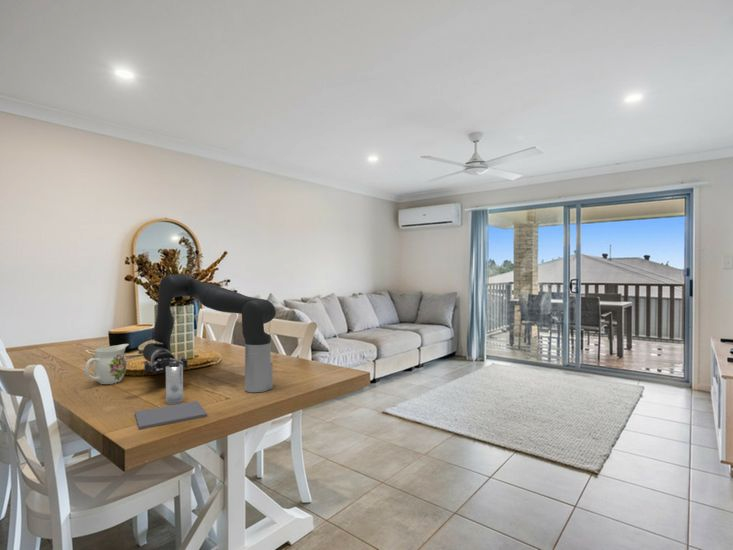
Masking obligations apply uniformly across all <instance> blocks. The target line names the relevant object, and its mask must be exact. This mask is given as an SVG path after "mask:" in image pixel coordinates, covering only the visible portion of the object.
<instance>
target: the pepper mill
mask: <svg viewBox="0 0 733 550" xmlns="http://www.w3.org/2000/svg"><path fill="white" fill-rule="evenodd" d="M178 360H179V359H178ZM178 360H175V361H170V362H169V366H166V371H165V403H167V404H166V405H176V404H182V402H183V401H184V369H183V365H181V364H179V361H178Z"/></svg>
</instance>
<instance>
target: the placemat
mask: <svg viewBox="0 0 733 550" xmlns="http://www.w3.org/2000/svg"><path fill="white" fill-rule="evenodd" d="M134 415H135V420H136V422H137V426H138V430H143V429H149V428H148V427H150V428H154V427H159V426H164V425H169V424H174V423H180V422H184V421H190V420H195V419H199V418H205V417H208V412H207V411H205V409H204V408H203V406H202V405H201V404H200V403H199V400H194V401H189V402H183V403H182V402H181V403H177V404H170V405H165V406H161V407H154V408H149V409H142V410H136V411H135V412H134Z"/></svg>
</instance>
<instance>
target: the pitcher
mask: <svg viewBox="0 0 733 550" xmlns="http://www.w3.org/2000/svg"><path fill="white" fill-rule="evenodd" d="M129 345H130V344H129V343H122V344H117V345H110V346H104V347H99V348H97V349H96V348H95V349H94V350H93V352H94V356H95V357H93V358H92V357H91V358H89V359H88V360H87V361H86V363H85V365H84V374H85V376H86V378H87V379H89V380H91V381H97V382H98V383H99V384H100V385H102V384H110V385H114V384H113V383H115V384H118V383H120V382H121V381H122V379H123V378H124V376H125V374H126V370H127V365H128V364H127V361H128V360H127V358H126V354H125V352H126V348H127V347H128V346H129ZM92 363H93V366H92V367H93V374H94V376H93V375H91V374H90V366H91V364H92ZM117 382H118V383H117Z"/></svg>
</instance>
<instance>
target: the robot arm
mask: <svg viewBox="0 0 733 550" xmlns="http://www.w3.org/2000/svg"><path fill="white" fill-rule="evenodd" d="M157 294H158V297H157V310H156V317H155V318H156V319H155V324H154V327H153V331H152V335H151V338H152V340H153V341H155V342H156V343H155V342H153V343H152V342H150V343H147V344H146V345H145V346H144V347H143V350H142V356H143V358H144V360H146V361H144V362H143V363H144V368H143V369H144V372H145V373H148V372H149V371H150V372H151V373H154V374H157V372H162V373H163V372H165V373H166V366H169V362H170V361H175V360H178V361H179V364H181V365H183V370H184V369H185V368H188V361H189V360H188V359H186V358H185V357H181V358H180V359H177V358H175V356H174V355H173V354H172V349H171V339H172V338H171V337H172V334H173V330H174V327H175V326H174V324H175V320H174V319H175V318H174V315H173V313H172V311H171V305H172V302H173V299H174V298H178V297H184V296H185V297H186V296H187V297H191V298H195V299H197V300H198V301H199V303H200V304H201V305H202V306H204V307H205V308H208V309H210V310H213V311H215V312H221V313H231V314H239V315H240V314H241V326H242V329H241V331H242V336H243V338H244V390H245V391H246V392H247V393H263V392H267V391H270V390H272V389H273V388H274V387H273V384H274V383H273V381H274V379H273V378H274V376H273V373H274V372H273V370H274V368H273V366H274V365H273V363H272V362H271V361H272V359H271V358H272V354H271V348H272V347H271V346H272V345H271V343H272V342H271V335H270V334H269V333H266V332H265V329H264V324H268V323H270V322H271V321H272V320H273V319H274V318H275V316H276V312H277V311H276V307H275V306H274V304H273V303H272V302H271V301H270V300H268V299H265V298H258V297H252V296H248V295H245V294H241V293H240V292H236V291H234V290H231V289H228V288H225V287H222V286H218V285H216V284H212V283H207V282H203V281H200V280H198V279H196V278H193V277H192V276H190V275H186V274H184V273H183V274H182V273H176V274H168V275H164V276H163V277H162V278H161V279H160V282H159V285H158V293H157ZM157 342H158V343H157ZM150 362H151V363H150Z"/></svg>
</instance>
